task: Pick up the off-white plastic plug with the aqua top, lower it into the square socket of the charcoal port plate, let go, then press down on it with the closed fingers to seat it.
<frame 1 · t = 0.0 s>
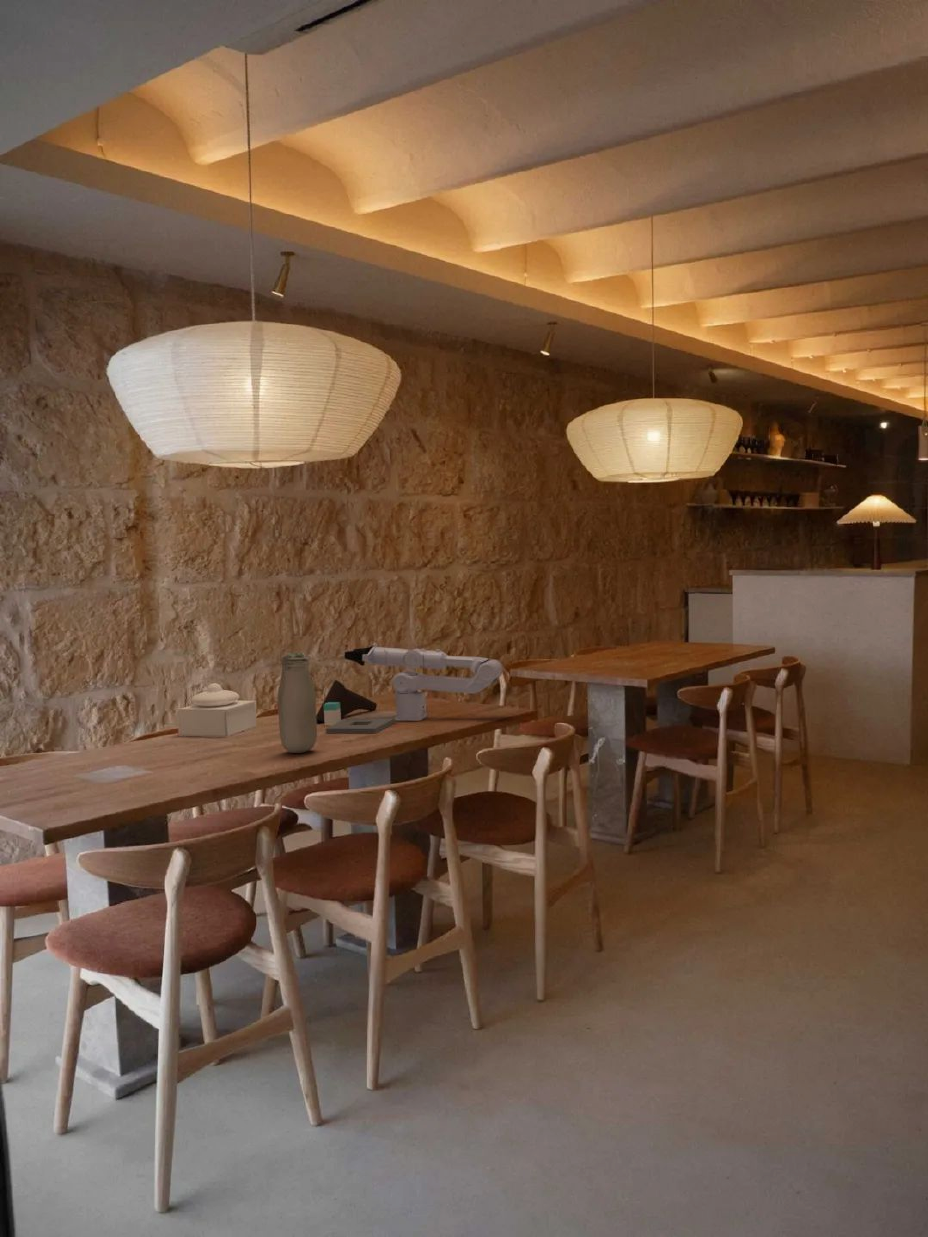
hand: (349, 653, 327), 22 cm above the table, tool horizontal, fingers open, 7 cm apart
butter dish: (219, 732, 317), on the table
port plate: (361, 728, 310), on the table
holster: (347, 718, 334), on the table
plug: (332, 724, 319), on the table
glass bottle: (300, 753, 276), on the table
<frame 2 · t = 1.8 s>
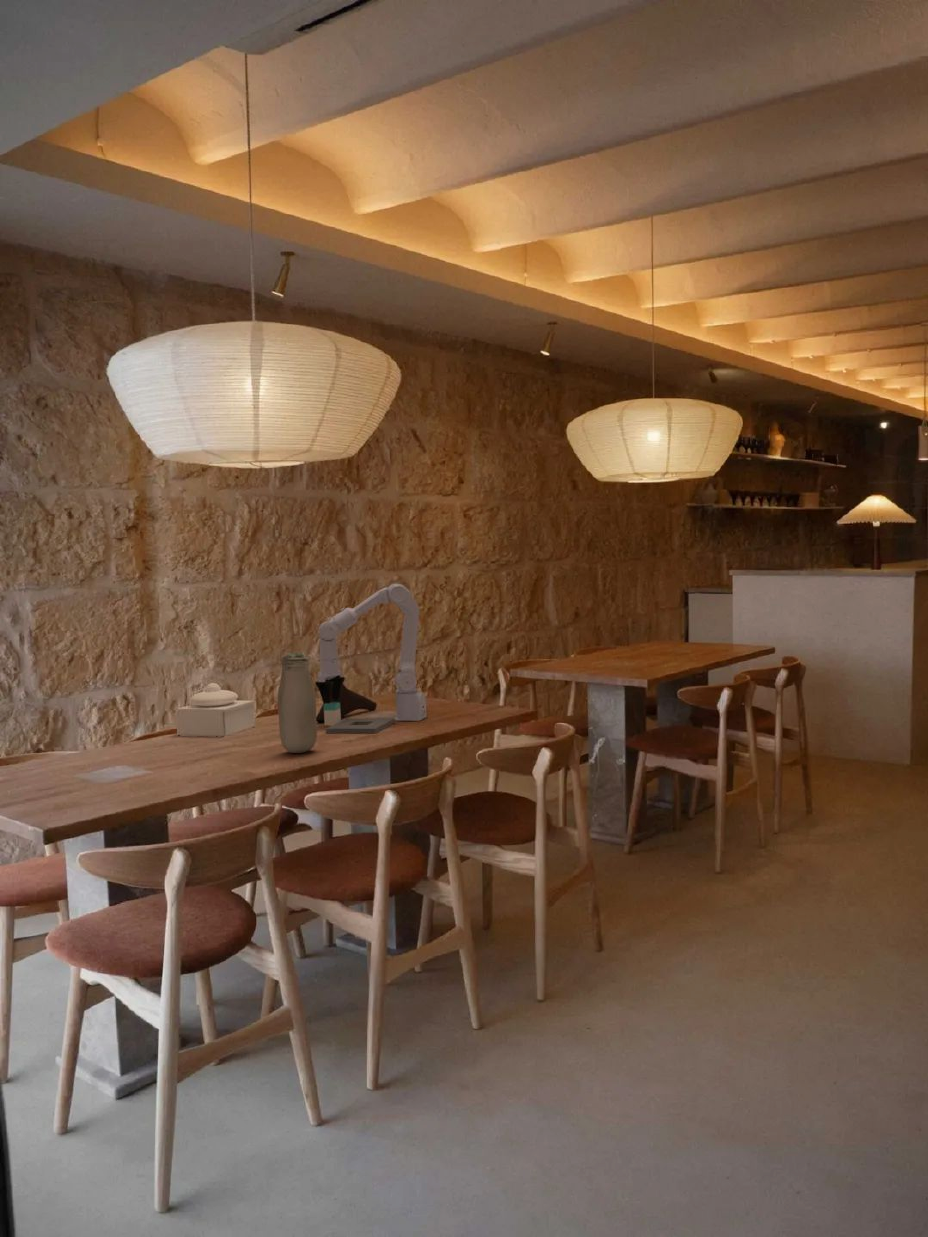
hand: (331, 701, 319), 7 cm above the table, tool pointing down, fingers open, 7 cm apart
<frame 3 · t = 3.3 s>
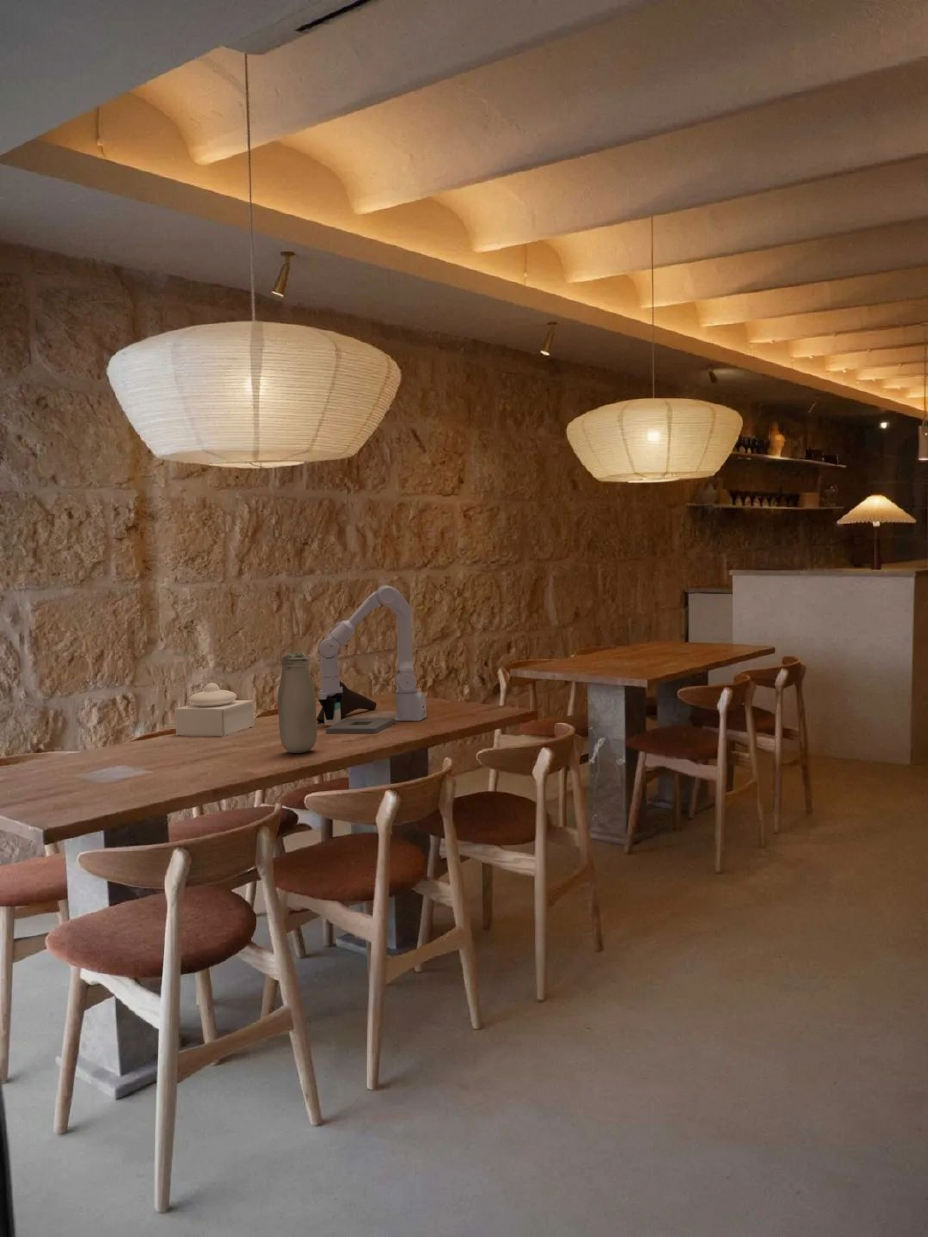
hand: (332, 718, 319), 2 cm above the table, tool pointing down, fingers closed on plug, 4 cm apart
plug: (332, 724, 319), on the table, touching gripper
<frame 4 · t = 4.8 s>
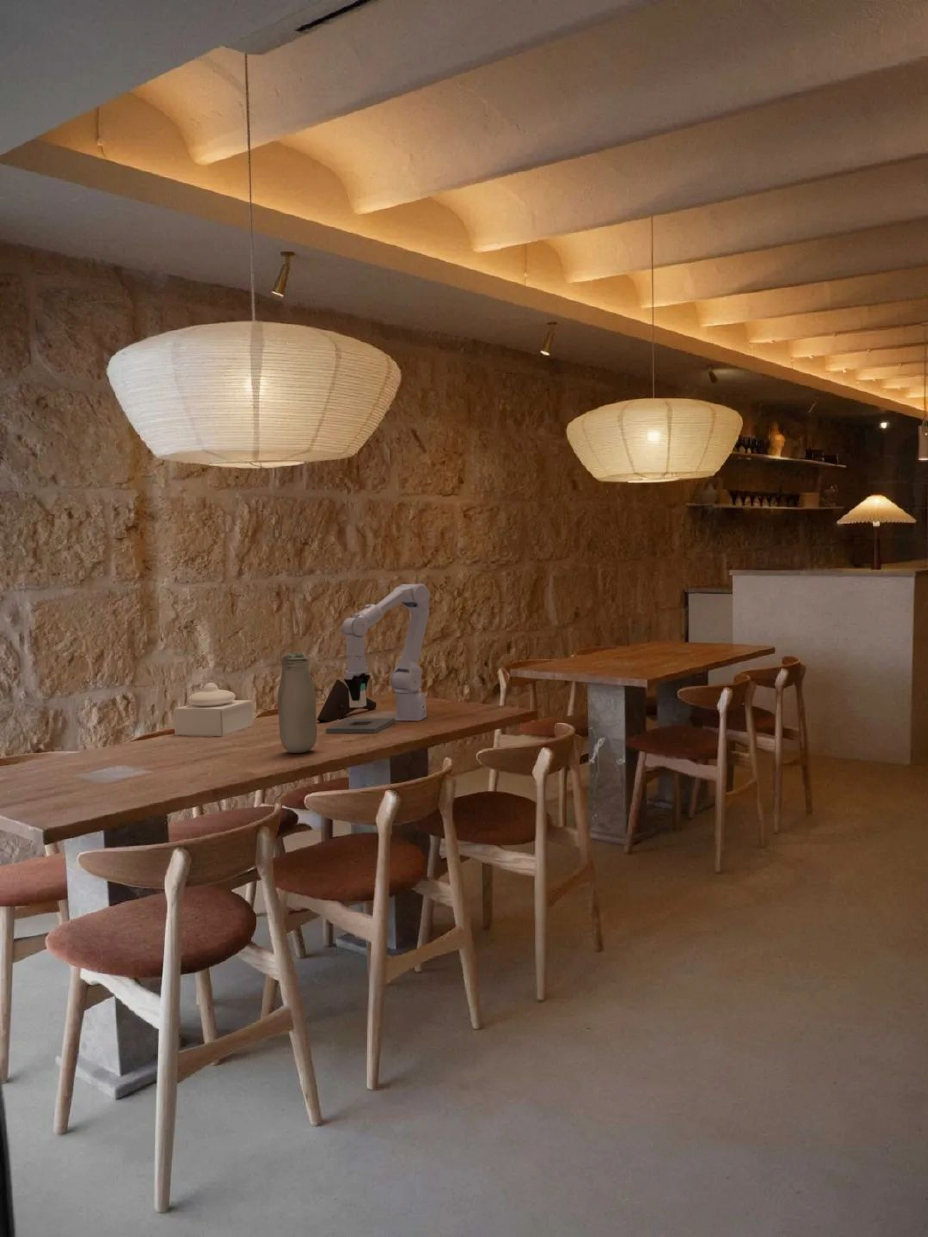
hand: (358, 699, 310), 9 cm above the table, tool pointing down, fingers closed on plug, 4 cm apart
plug: (358, 706, 310), point 7 cm above the table, touching gripper
when the fingers open (3 cm above the table, at t = 6.6 s): plug stays where it is, resting in port plate.
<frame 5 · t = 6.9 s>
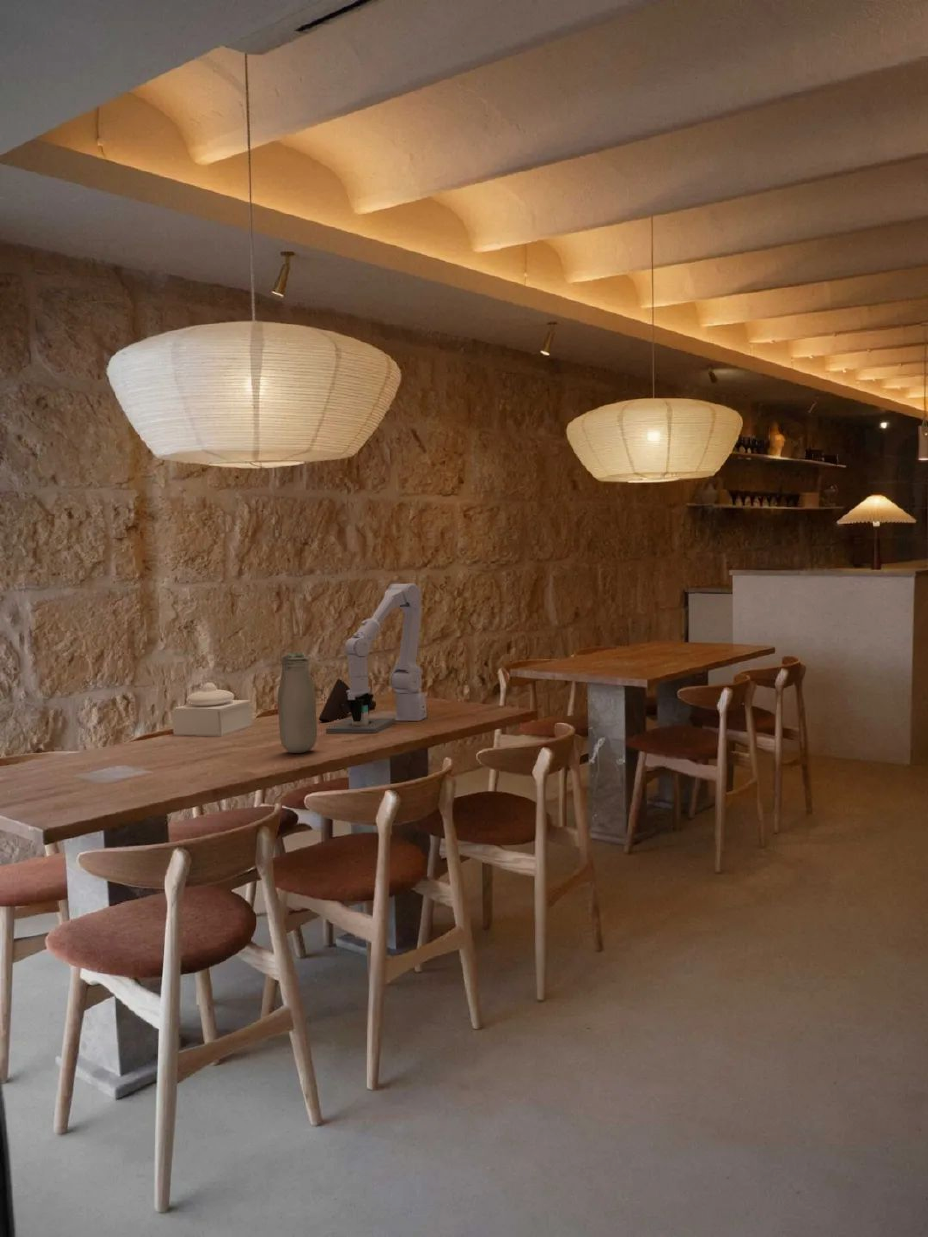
hand: (360, 719, 310), 3 cm above the table, tool pointing down, fingers open, 6 cm apart
plug: (360, 728, 310), resting in port plate
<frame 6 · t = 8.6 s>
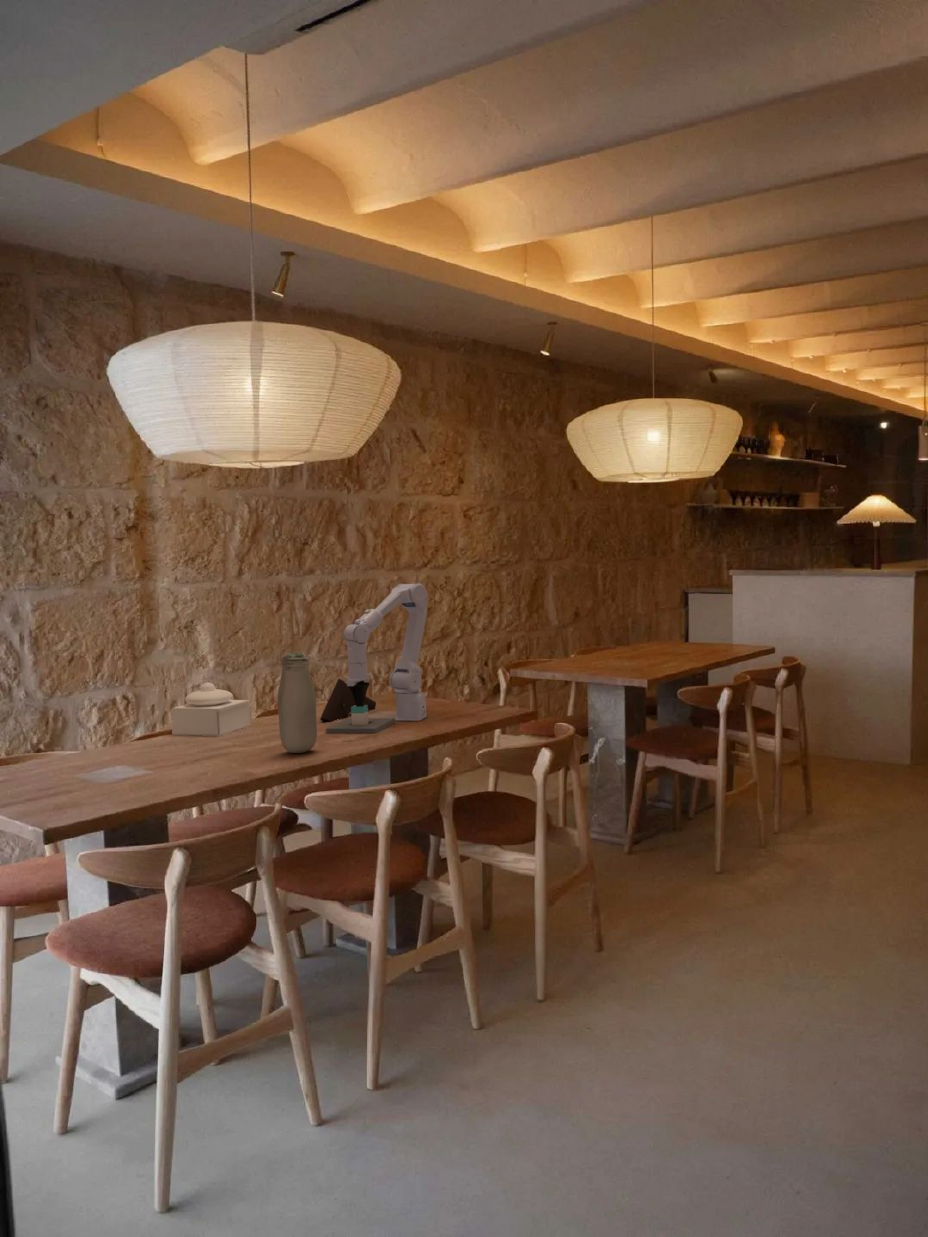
hand: (360, 706, 310), 7 cm above the table, tool pointing down, fingers closed, pressing on plug
plug: (360, 728, 310), resting in port plate, touching gripper
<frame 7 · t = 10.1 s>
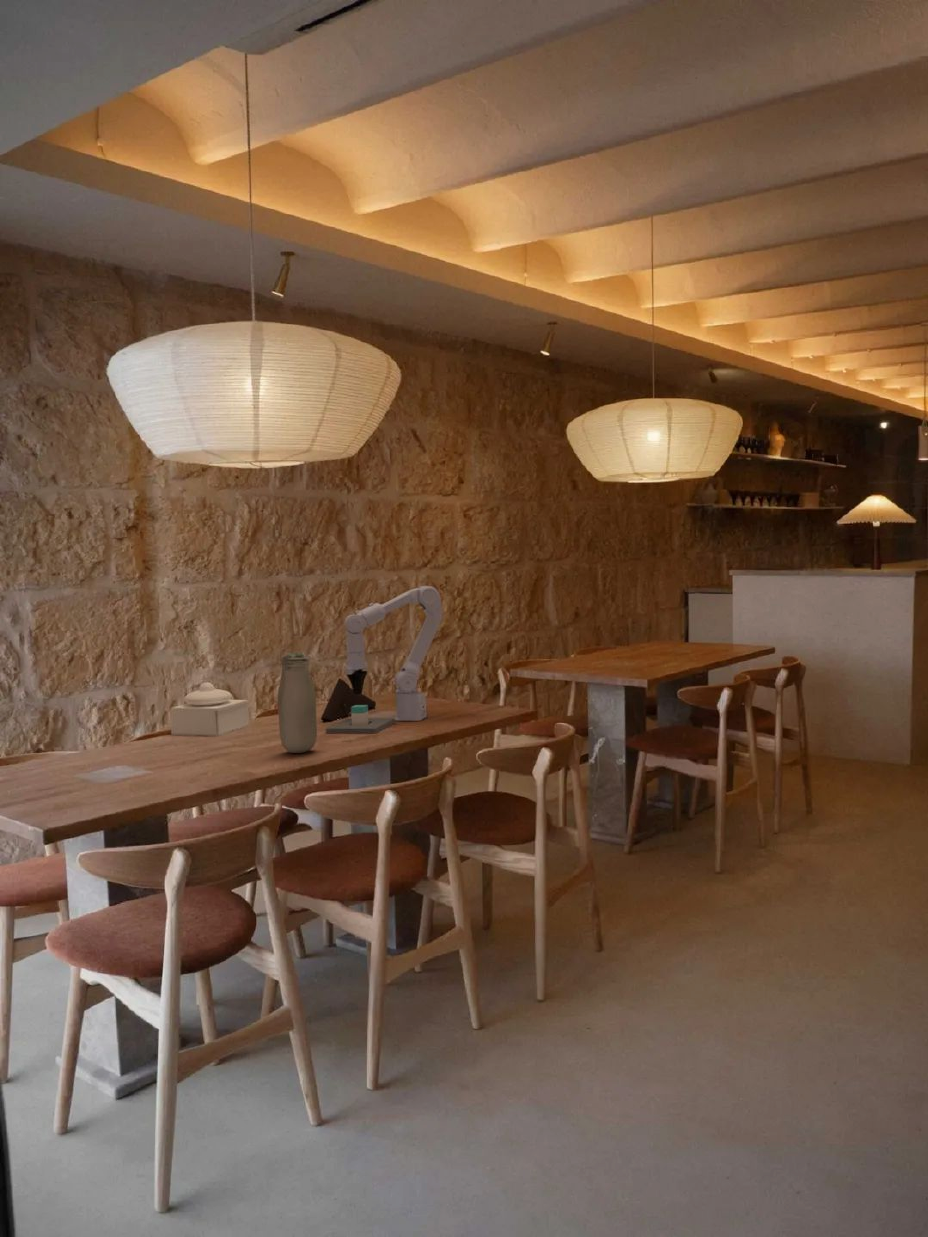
hand: (358, 694, 319), 9 cm above the table, tool pointing down, fingers closed
plug: (360, 728, 310), resting in port plate
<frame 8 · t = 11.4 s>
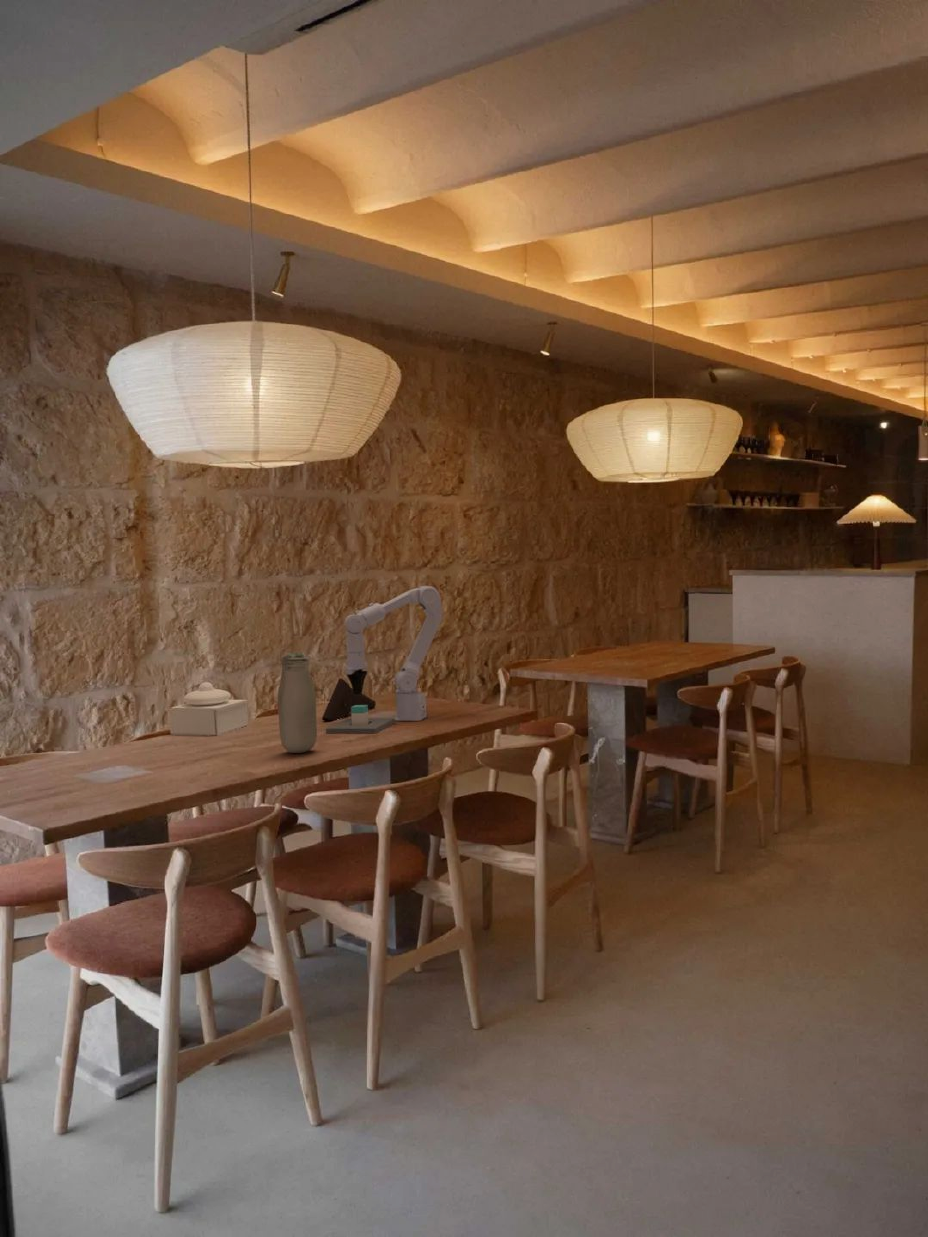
hand: (358, 694, 319), 9 cm above the table, tool pointing down, fingers closed
at the end: plug 0.2 cm off-centre on the port plate, point 0.0 cm above the port plate's base; plug tilted 0°; the gripper is holding nothing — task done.
